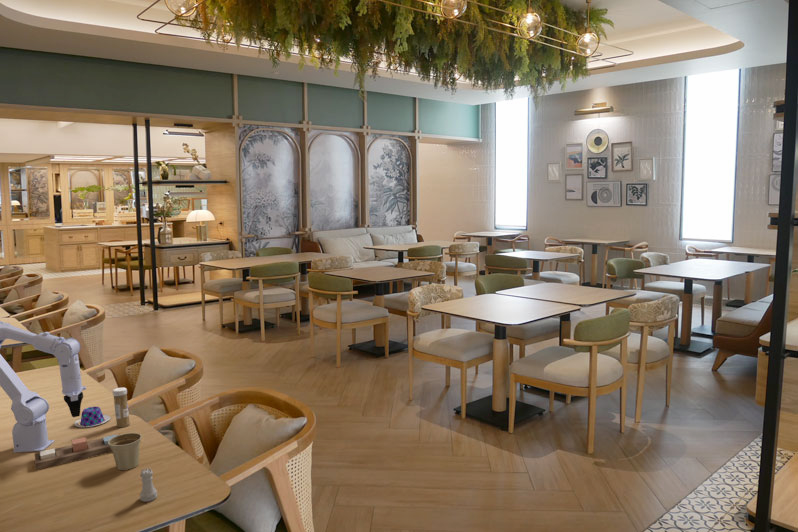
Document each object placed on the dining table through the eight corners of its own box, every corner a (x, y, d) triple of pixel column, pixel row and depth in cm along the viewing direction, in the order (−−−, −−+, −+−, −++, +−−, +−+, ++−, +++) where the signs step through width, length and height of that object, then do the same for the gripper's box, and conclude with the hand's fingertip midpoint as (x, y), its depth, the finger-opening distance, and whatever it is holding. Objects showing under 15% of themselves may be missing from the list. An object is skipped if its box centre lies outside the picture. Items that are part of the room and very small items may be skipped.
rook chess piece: (143, 494, 170) (140, 467, 169) (159, 493, 170) (157, 466, 169) (137, 503, 165) (135, 474, 164) (154, 501, 166) (152, 473, 165)
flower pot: (111, 476, 182) (108, 448, 181) (109, 463, 190) (107, 437, 189) (145, 468, 186) (143, 441, 185) (142, 456, 194) (140, 430, 193)
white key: (41, 465, 190) (40, 456, 190) (40, 460, 194) (39, 451, 193) (56, 461, 193) (55, 452, 192) (55, 457, 196) (54, 448, 196)
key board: (36, 469, 188) (35, 463, 187) (35, 459, 195) (34, 453, 195) (125, 449, 201) (124, 443, 200) (120, 439, 208) (120, 434, 208)
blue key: (105, 450, 200) (104, 441, 199) (103, 445, 203) (102, 437, 203) (118, 447, 202) (117, 438, 202) (117, 442, 205) (116, 434, 205)
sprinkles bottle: (131, 425, 221) (127, 389, 219) (117, 428, 218) (113, 392, 216) (128, 421, 224) (125, 386, 223) (115, 424, 222) (111, 388, 220)
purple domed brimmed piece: (66, 427, 222) (64, 413, 221) (91, 415, 233) (89, 402, 232) (94, 430, 219) (92, 415, 218) (117, 417, 230) (116, 404, 229)
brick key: (73, 453, 195) (72, 444, 195) (72, 448, 198) (71, 440, 198) (87, 449, 197) (86, 441, 197) (86, 445, 200) (85, 437, 200)
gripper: (86, 379, 197) (91, 419, 199) (82, 368, 210) (87, 407, 211) (61, 383, 194) (66, 425, 196) (59, 372, 206) (64, 411, 208)
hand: (76, 416), depth 203 cm, fingers closed
